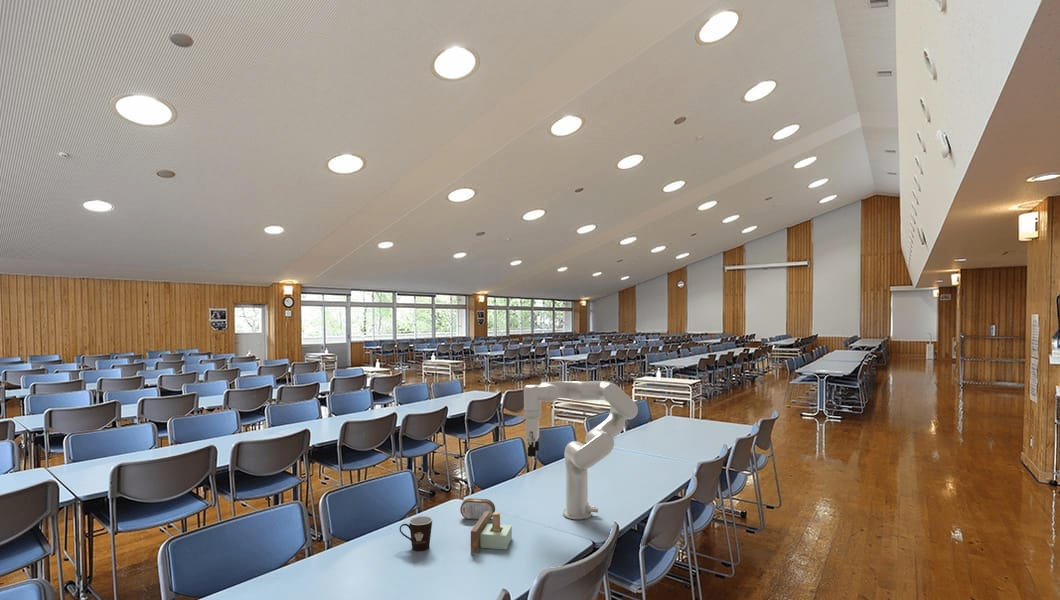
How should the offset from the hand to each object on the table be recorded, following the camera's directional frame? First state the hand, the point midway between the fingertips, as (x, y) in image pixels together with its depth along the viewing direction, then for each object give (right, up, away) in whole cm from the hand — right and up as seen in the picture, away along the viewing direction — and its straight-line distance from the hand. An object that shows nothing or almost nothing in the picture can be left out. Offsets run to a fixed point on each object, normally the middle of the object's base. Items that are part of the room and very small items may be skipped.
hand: (533, 453), depth 220 cm
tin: (-24, -28, -1) cm, 37 cm away
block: (-14, -27, -25) cm, 39 cm away
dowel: (-14, -26, -25) cm, 39 cm away
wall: (-21, -27, -24) cm, 41 cm away
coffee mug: (-44, -27, -28) cm, 59 cm away
